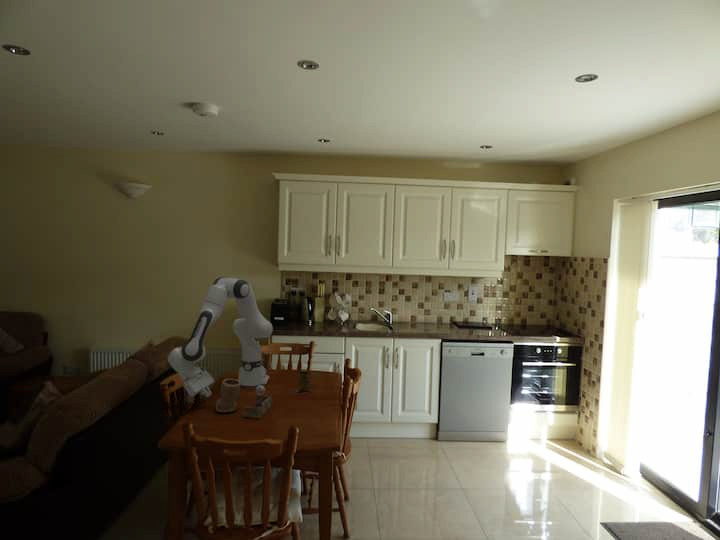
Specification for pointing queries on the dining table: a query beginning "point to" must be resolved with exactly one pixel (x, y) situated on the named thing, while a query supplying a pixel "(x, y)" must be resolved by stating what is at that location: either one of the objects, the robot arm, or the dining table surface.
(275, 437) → the dining table surface
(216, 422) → the dining table surface
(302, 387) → the condiment
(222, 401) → the stone cup
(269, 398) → the cradle
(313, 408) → the dining table surface
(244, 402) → the dining table surface
